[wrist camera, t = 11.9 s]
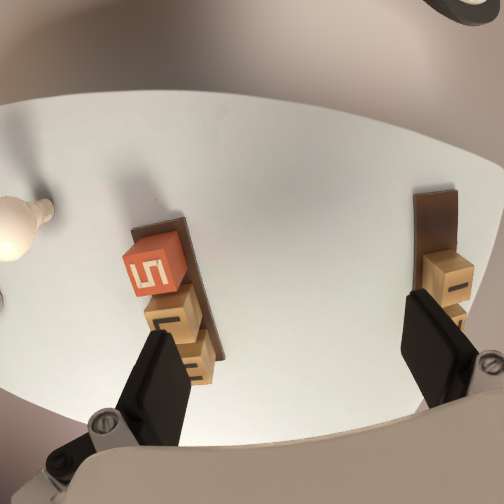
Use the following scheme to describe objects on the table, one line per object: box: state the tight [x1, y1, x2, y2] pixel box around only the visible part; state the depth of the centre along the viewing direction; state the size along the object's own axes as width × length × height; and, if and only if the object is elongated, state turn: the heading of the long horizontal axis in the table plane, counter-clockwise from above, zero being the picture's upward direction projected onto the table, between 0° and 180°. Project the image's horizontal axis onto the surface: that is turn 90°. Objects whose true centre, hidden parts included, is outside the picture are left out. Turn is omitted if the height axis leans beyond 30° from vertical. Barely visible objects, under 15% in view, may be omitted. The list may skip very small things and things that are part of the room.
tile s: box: [122, 231, 188, 297], centre depth 29 cm, size 4×4×5 cm
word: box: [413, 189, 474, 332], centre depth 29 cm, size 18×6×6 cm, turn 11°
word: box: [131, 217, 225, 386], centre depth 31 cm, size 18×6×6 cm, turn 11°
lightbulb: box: [0, 196, 54, 262], centre depth 25 cm, size 6×6×11 cm
